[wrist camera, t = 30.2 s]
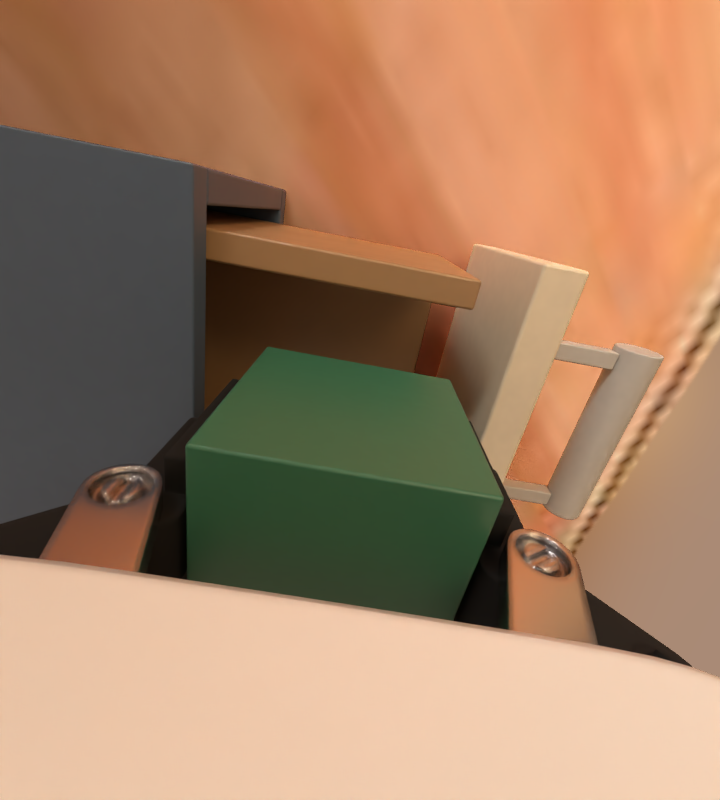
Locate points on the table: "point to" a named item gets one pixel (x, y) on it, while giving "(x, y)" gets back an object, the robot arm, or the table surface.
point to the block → (339, 487)
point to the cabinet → (101, 306)
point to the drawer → (404, 327)
